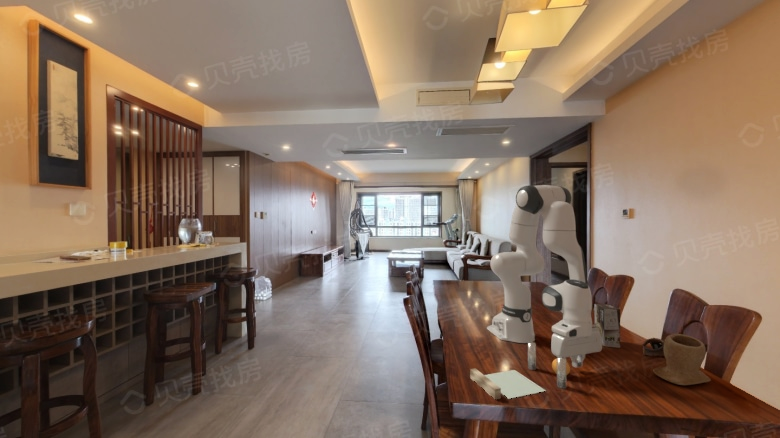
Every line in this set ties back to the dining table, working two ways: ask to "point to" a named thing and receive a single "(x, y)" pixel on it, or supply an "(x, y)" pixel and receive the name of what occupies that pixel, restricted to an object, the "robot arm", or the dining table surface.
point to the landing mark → (514, 384)
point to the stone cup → (683, 360)
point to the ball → (554, 366)
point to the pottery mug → (655, 345)
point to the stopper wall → (485, 383)
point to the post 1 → (531, 355)
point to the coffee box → (608, 324)
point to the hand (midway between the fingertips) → (577, 366)
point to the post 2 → (561, 372)
